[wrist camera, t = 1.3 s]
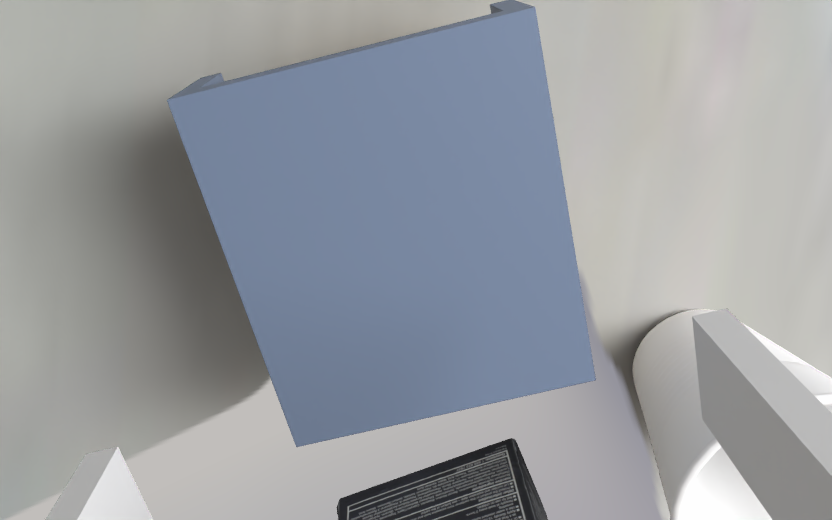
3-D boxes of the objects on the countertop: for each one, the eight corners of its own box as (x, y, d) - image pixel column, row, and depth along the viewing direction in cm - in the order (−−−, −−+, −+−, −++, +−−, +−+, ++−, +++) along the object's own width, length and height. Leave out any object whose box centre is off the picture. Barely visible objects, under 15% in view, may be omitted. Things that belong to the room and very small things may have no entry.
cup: (554, 356, 37) (619, 508, 27) (715, 231, 34) (853, 345, 24) (665, 468, 40) (761, 642, 30) (820, 360, 38) (981, 508, 27)
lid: (200, 78, 27) (166, 100, 23) (510, -1, 27) (535, 7, 22) (308, 383, 33) (296, 447, 28) (567, 324, 32) (595, 380, 28)
